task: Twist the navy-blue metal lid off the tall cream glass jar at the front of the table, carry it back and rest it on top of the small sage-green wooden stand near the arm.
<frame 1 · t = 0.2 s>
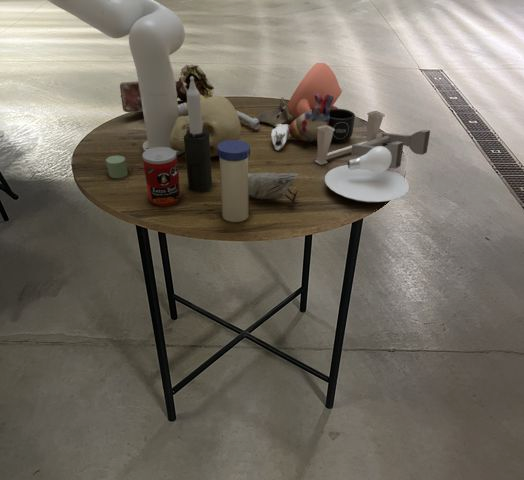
jar: (235, 215, 111), on the table
decorative box: (141, 100, 158), point 3 cm above the table
lid: (233, 148, 100), point 15 cm above the table, screwed on, not yet turned
mug: (335, 137, 145), on the table
bird figurine: (276, 137, 135), point 4 cm above the table
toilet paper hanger: (392, 133, 131), point 7 cm above the table, touching plate
bone: (244, 115, 152), point 2 cm above the table
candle: (200, 187, 121), on the table
lightbulb: (346, 165, 122), point 4 cm above the table, touching plate
skull: (167, 129, 130), point 7 cm above the table, touching arm
canned food: (165, 199, 116), on the table
plate: (364, 190, 121), on the table, touching lightbulb, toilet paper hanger
pottery fragment: (263, 127, 156), on the table
stand: (118, 174, 125), on the table
pink curved piece: (300, 85, 148), point 10 cm above the table, touching accessory
light bulb: (177, 111, 154), point 2 cm above the table
toilet paper hanger 2: (343, 135, 134), point 5 cm above the table
bear figurine: (200, 83, 160), point 6 cm above the table
decorative bird: (264, 200, 117), on the table
anatomical model: (303, 140, 143), touching accessory
accessory: (306, 137, 143), point 1 cm above the table, touching anatomical model, pink curved piece
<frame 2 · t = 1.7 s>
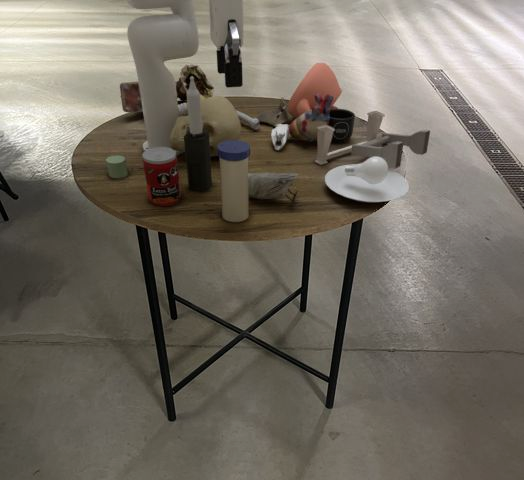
hand: (229, 79, 93), 28 cm above the table, tool pointing down, fingers open, 9 cm apart
lightbulb: (344, 170, 120), point 4 cm above the table, touching plate
everything else where it was.
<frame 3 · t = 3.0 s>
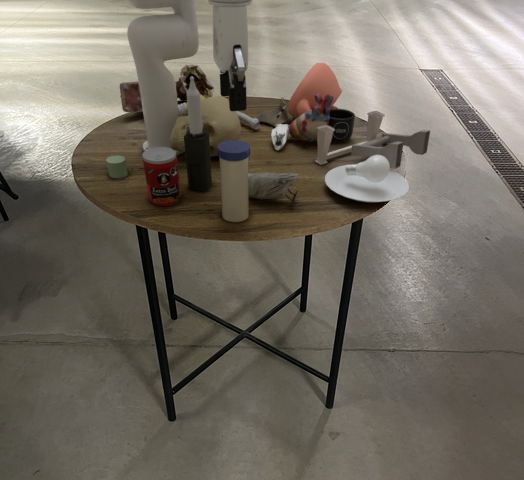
hand: (233, 102, 94), 24 cm above the table, tool pointing down, fingers open, 8 cm apart
pink curved piece: (300, 85, 148), point 10 cm above the table
anatomical model: (303, 140, 143), on the table
accessory: (306, 137, 143), point 1 cm above the table
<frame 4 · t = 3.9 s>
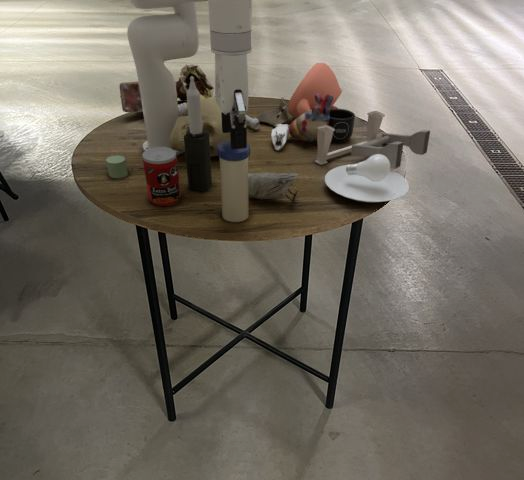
hand: (234, 139, 99), 17 cm above the table, tool pointing down, fingers open, 8 cm apart
pink curved piece: (300, 85, 148), point 10 cm above the table, touching accessory
anatomical model: (303, 140, 143), touching accessory
accessory: (306, 137, 143), point 1 cm above the table, touching anatomical model, pink curved piece
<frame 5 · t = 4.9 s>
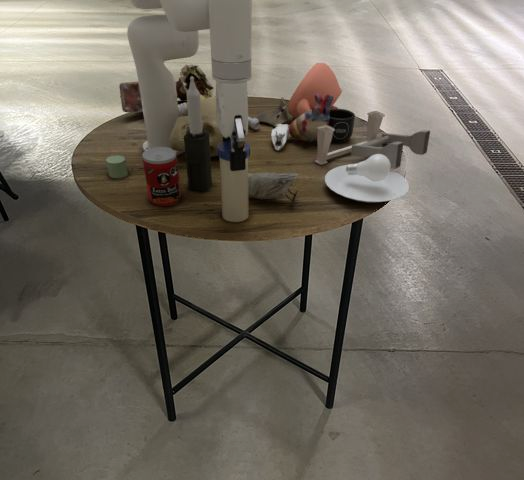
hand: (234, 161, 102), 13 cm above the table, tool pointing down, fingers closed on lid, 6 cm apart
lid: (233, 148, 100), point 15 cm above the table, screwed on, not yet turned, touching gripper
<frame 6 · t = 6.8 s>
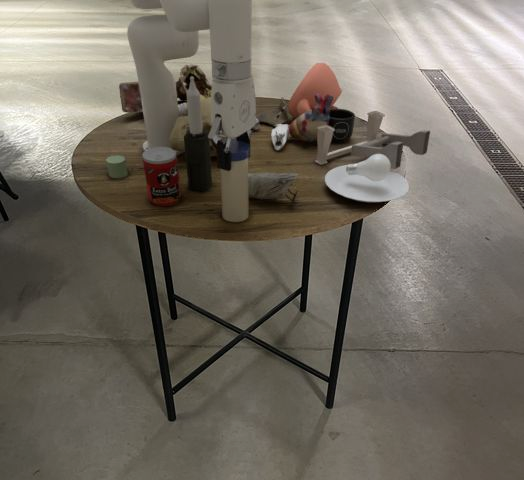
hand: (234, 162, 102), 13 cm above the table, tool pointing down, fingers closed on lid, 6 cm apart
lid: (233, 148, 100), point 15 cm above the table, off its thread, touching gripper
when the fingers open (1 cm above the table, at t = 19.1 s): lid stays where it is, resting on stand.
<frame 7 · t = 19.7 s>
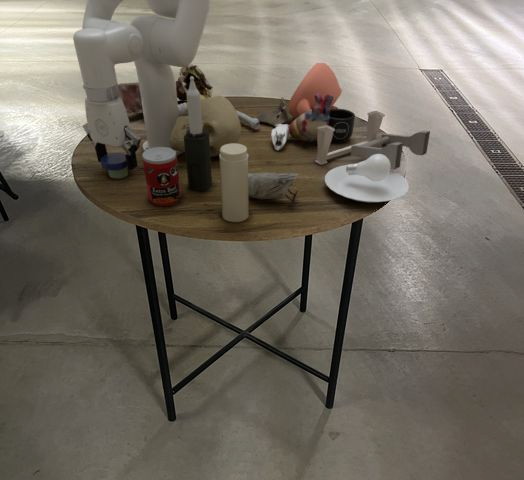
hand: (118, 164, 124), 2 cm above the table, tool pointing down, fingers open, 9 cm apart
lid: (114, 159, 122), point 4 cm above the table, off its thread, touching stand
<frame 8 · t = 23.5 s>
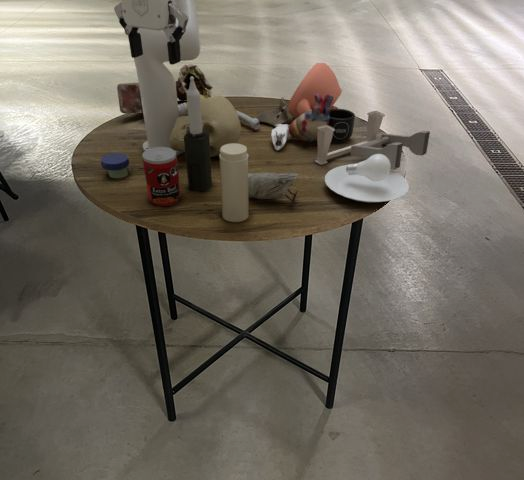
hand: (156, 59, 100), 28 cm above the table, tool pointing down, fingers open, 9 cm apart
at the end: lid came off its thread; lid 0.4 cm off-centre on the stand, point 4.0 cm above the stand's base; the gripper is holding nothing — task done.
